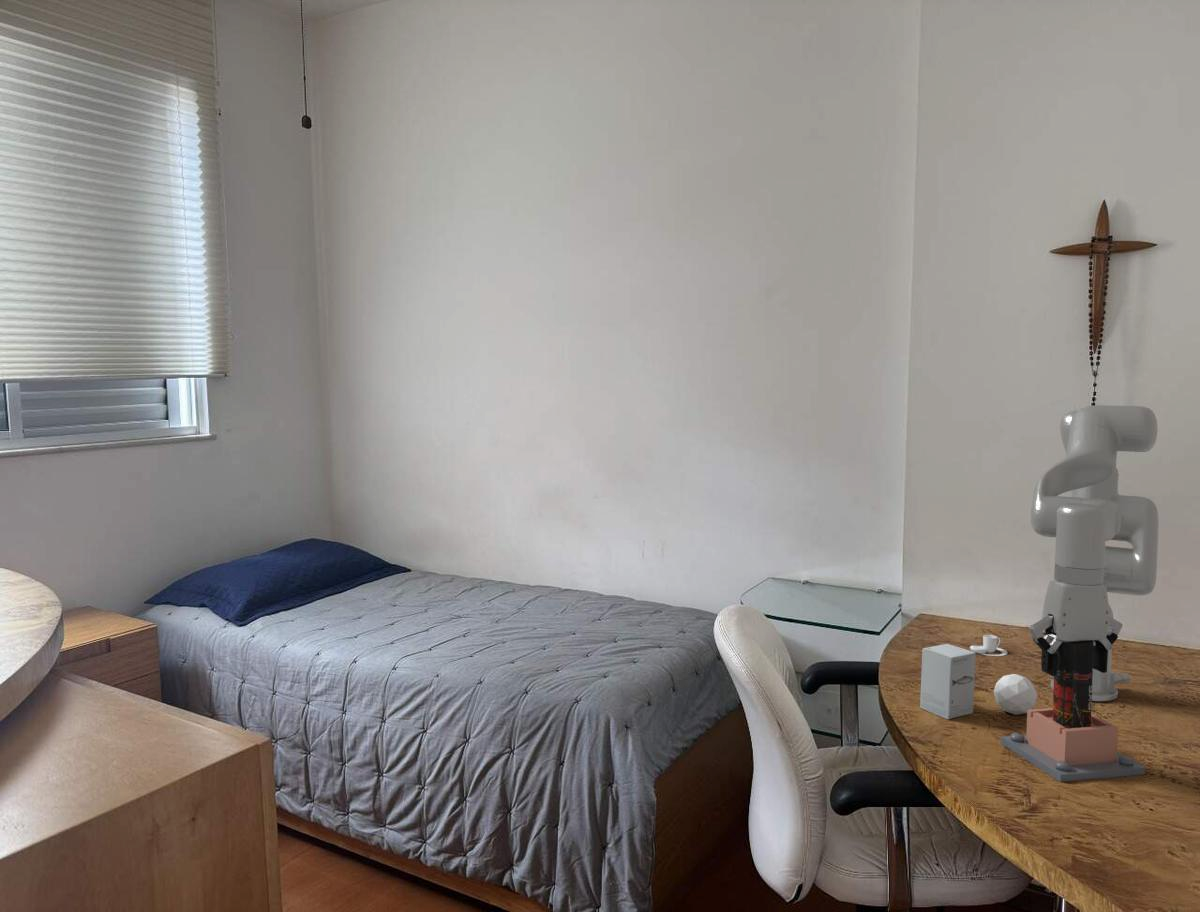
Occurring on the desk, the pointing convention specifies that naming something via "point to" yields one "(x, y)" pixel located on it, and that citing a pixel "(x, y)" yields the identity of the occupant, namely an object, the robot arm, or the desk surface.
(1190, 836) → the desk surface
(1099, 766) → the tower base
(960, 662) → the supplement box
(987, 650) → the teacup and saucer
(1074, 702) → the deodorant
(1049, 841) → the desk surface
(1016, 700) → the geometric ball
